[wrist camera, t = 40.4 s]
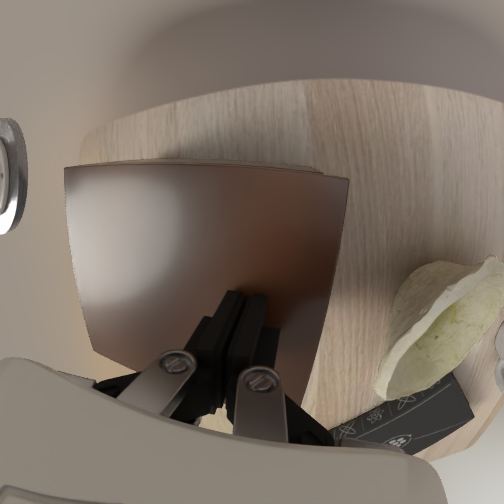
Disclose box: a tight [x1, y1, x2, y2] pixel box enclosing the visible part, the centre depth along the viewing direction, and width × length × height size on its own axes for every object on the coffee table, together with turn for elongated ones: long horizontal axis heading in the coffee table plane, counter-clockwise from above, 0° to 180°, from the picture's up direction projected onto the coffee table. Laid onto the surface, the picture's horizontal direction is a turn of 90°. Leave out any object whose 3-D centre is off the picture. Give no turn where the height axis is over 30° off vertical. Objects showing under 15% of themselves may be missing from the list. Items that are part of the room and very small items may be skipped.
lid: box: [64, 163, 349, 407], centre depth 13 cm, size 14×13×1 cm
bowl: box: [374, 254, 504, 401], centre depth 18 cm, size 15×14×10 cm
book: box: [329, 371, 475, 455], centre depth 27 cm, size 22×15×3 cm
